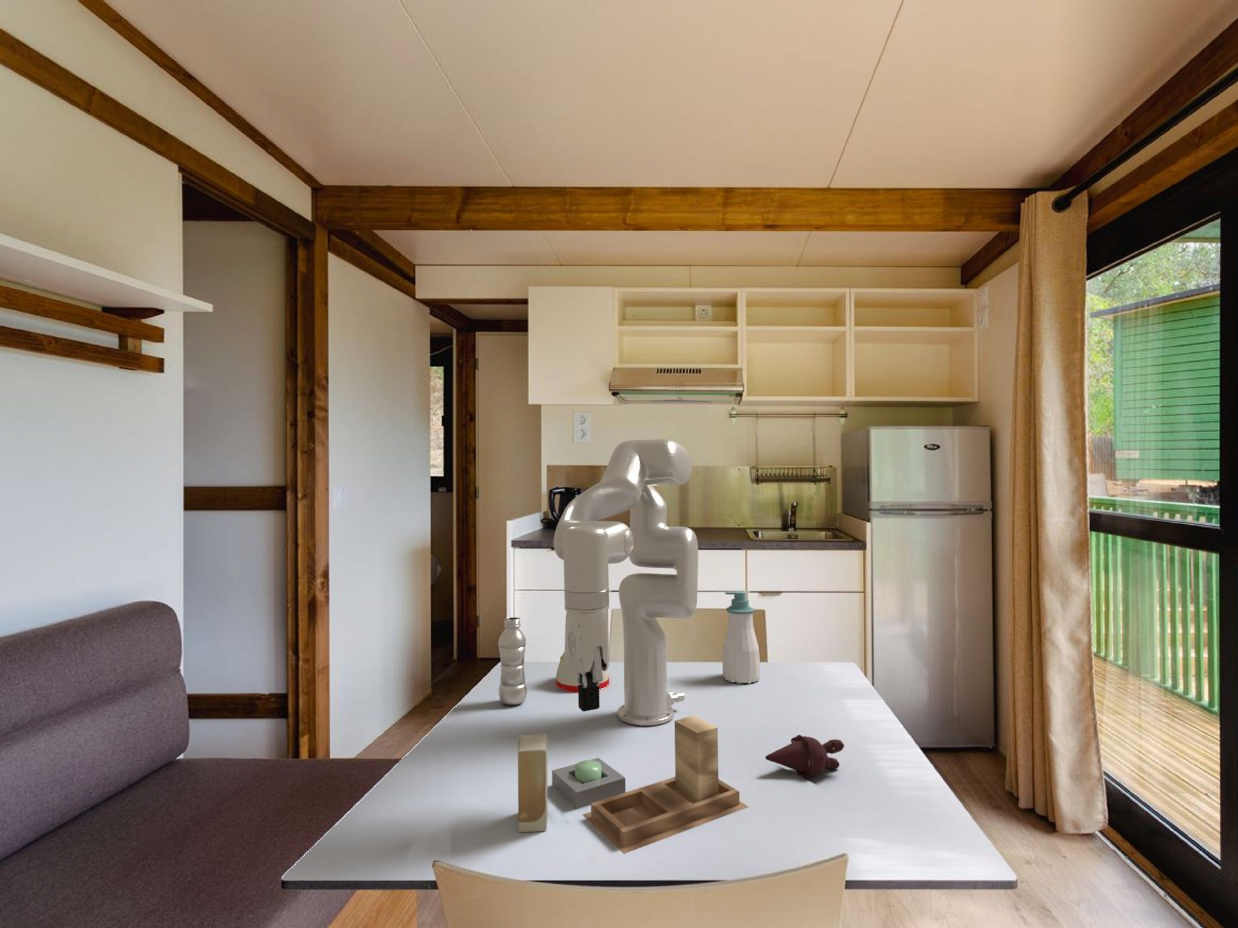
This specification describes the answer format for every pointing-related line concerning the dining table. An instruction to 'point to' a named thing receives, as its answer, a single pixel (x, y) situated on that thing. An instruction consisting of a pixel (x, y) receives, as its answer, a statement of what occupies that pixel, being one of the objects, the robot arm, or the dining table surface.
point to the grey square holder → (588, 785)
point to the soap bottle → (740, 642)
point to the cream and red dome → (573, 676)
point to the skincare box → (532, 783)
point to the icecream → (807, 755)
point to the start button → (587, 771)
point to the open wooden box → (657, 813)
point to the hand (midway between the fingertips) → (589, 708)
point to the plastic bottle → (512, 663)
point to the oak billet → (696, 759)
